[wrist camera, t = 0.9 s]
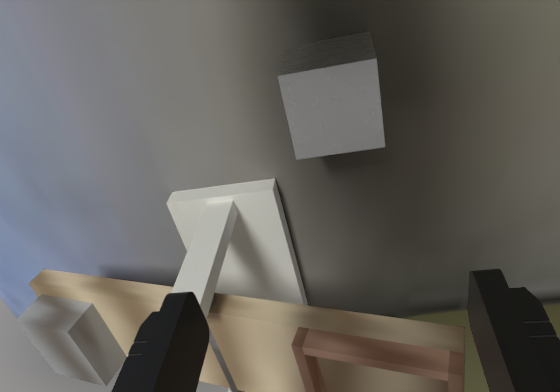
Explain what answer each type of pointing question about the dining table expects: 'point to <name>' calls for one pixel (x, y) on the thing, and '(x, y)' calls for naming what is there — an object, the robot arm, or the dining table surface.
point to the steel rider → (332, 96)
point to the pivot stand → (236, 244)
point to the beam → (244, 340)
